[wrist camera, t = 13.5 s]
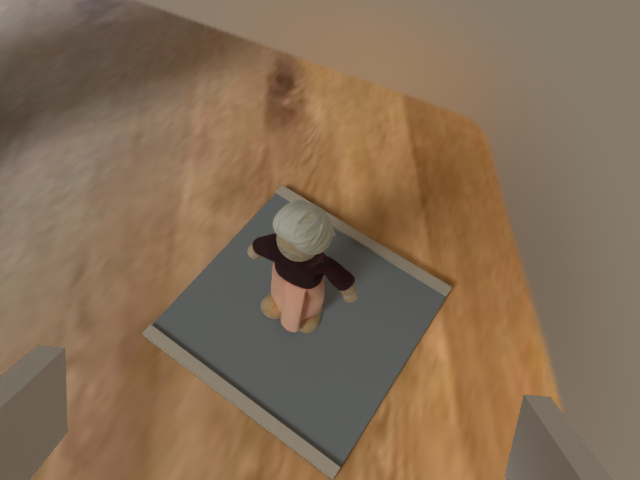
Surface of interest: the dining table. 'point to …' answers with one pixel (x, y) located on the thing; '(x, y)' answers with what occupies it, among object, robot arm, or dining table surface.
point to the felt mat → (302, 338)
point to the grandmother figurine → (300, 266)
